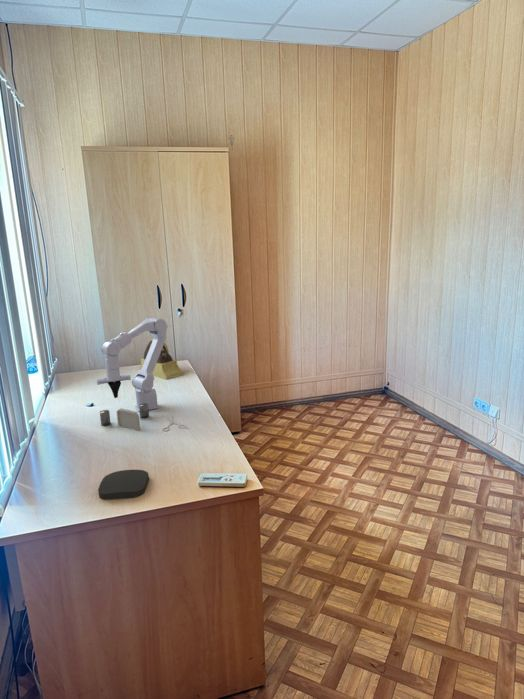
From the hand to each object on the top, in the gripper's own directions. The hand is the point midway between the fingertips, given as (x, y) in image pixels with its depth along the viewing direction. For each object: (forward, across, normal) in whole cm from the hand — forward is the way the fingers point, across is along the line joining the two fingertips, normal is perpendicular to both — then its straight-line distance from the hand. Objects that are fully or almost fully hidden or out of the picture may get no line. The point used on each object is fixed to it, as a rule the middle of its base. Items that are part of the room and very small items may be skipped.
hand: (115, 397), depth 213 cm
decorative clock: (+10, -36, -62) cm, 72 cm away
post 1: (+10, +6, +7) cm, 13 cm away
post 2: (+9, -11, +7) cm, 16 cm away
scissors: (+10, -20, +20) cm, 30 cm away
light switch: (+10, -2, +16) cm, 19 cm away
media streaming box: (+10, +9, +67) cm, 68 cm away
